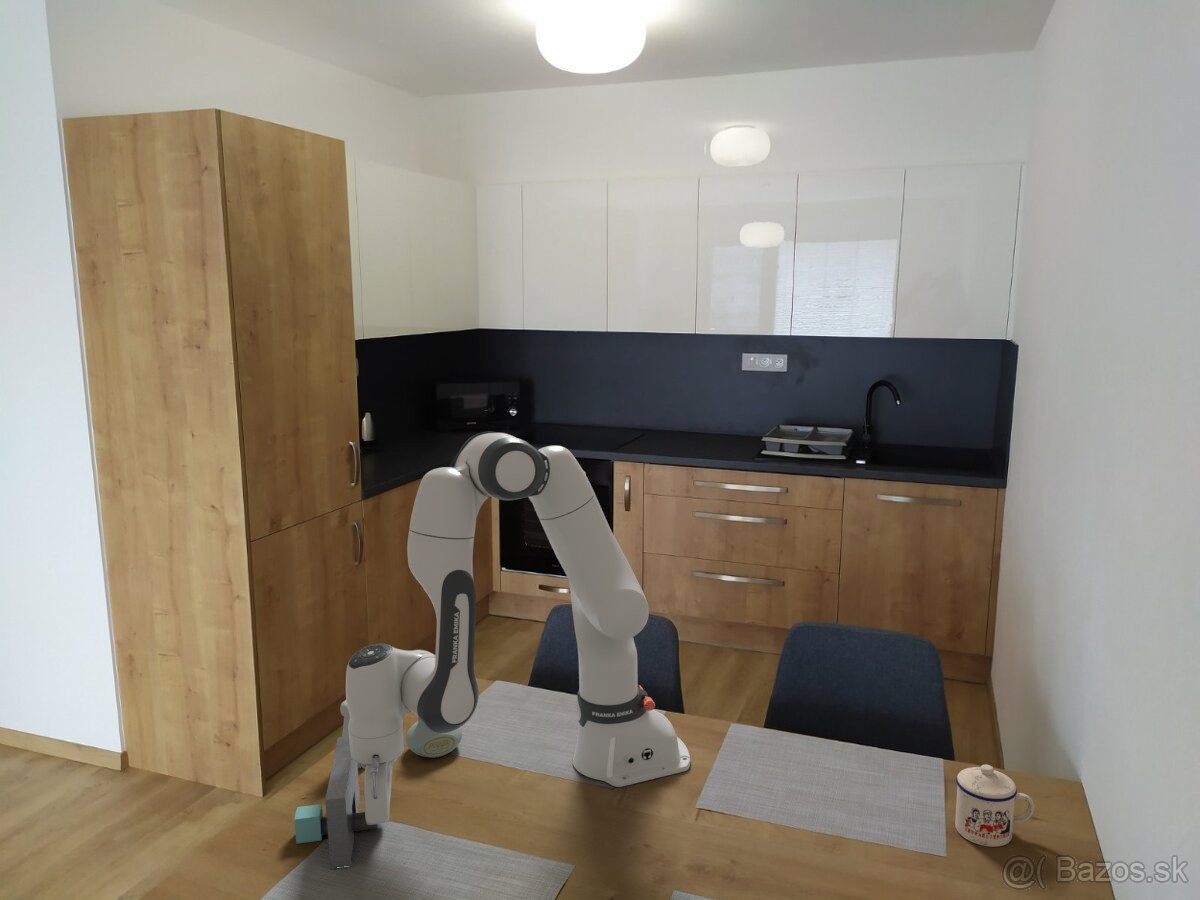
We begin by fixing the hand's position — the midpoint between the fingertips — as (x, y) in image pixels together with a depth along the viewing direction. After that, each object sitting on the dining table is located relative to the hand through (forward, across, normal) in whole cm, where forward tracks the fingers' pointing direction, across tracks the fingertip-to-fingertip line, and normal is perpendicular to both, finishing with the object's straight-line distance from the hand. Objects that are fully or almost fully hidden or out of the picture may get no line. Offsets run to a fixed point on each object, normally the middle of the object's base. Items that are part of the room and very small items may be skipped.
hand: (382, 817), depth 149 cm
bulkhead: (+2, 0, +6) cm, 6 cm away
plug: (+2, 0, +7) cm, 8 cm away
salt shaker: (+2, +22, +6) cm, 23 cm away
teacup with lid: (+2, -24, -99) cm, 102 cm away
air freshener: (+2, +24, -9) cm, 26 cm away
